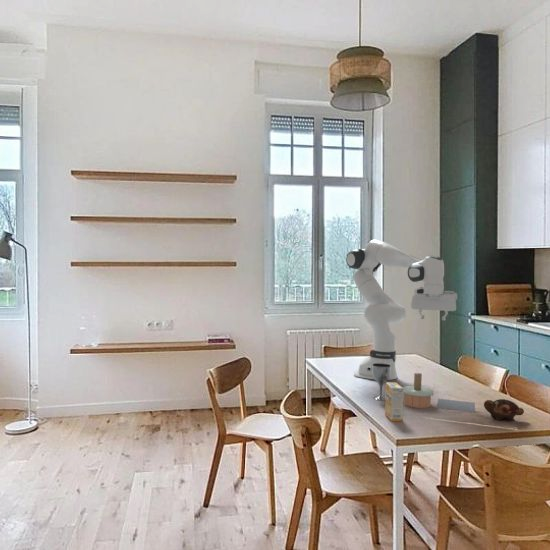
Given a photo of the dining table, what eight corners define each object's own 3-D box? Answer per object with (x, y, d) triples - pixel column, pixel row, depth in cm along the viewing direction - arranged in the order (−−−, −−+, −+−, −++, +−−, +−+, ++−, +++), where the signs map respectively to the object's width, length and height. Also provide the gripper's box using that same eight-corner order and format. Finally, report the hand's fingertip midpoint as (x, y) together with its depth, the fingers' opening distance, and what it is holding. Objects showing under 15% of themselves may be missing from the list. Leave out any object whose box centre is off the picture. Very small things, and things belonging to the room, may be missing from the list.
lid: (400, 394, 206) (400, 375, 206) (403, 387, 219) (403, 369, 218) (432, 398, 202) (433, 378, 202) (434, 390, 214) (434, 372, 214)
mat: (436, 409, 205) (436, 407, 205) (438, 399, 219) (438, 398, 219) (475, 413, 200) (475, 412, 200) (474, 404, 214) (474, 402, 214)
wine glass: (379, 401, 214) (380, 367, 214) (367, 397, 222) (368, 363, 221) (393, 399, 218) (394, 366, 218) (381, 395, 225) (382, 362, 225)
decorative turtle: (478, 416, 197) (479, 396, 197) (514, 416, 198) (515, 396, 198) (490, 424, 188) (491, 403, 187) (528, 424, 189) (529, 403, 188)
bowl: (402, 407, 207) (402, 394, 207) (405, 400, 217) (405, 387, 217) (429, 410, 203) (430, 397, 203) (431, 403, 214) (431, 390, 213)
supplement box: (384, 414, 197) (385, 382, 196) (395, 414, 197) (396, 382, 197) (390, 421, 188) (391, 387, 188) (403, 421, 189) (404, 387, 188)
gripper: (457, 290, 231) (456, 320, 231) (412, 289, 238) (411, 317, 239) (457, 291, 225) (456, 321, 226) (411, 290, 232) (410, 319, 233)
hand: (433, 319), depth 232 cm, fingers open, 8 cm apart
